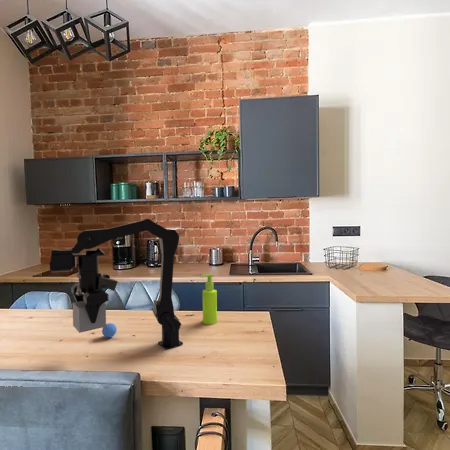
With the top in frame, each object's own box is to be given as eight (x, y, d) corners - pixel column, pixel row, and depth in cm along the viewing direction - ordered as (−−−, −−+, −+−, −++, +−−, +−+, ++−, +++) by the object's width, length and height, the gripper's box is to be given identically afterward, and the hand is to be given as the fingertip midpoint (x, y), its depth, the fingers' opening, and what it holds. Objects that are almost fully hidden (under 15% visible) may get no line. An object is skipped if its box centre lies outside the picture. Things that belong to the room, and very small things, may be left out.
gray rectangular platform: (106, 326, 95) (105, 303, 94) (79, 332, 90) (79, 308, 90) (98, 320, 101) (97, 298, 100) (73, 325, 96) (72, 302, 96)
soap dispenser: (198, 321, 127) (198, 273, 127) (213, 318, 130) (213, 272, 130) (203, 325, 122) (202, 276, 122) (219, 323, 125) (218, 274, 124)
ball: (118, 337, 111) (118, 323, 111) (104, 341, 108) (104, 327, 107) (114, 333, 115) (113, 320, 115) (100, 336, 111) (100, 323, 111)
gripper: (125, 271, 93) (126, 321, 93) (105, 263, 107) (105, 307, 107) (86, 275, 86) (87, 330, 86) (70, 267, 100) (71, 314, 100)
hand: (89, 319), depth 95 cm, fingers closed on gray rectangular platform, 8 cm apart
